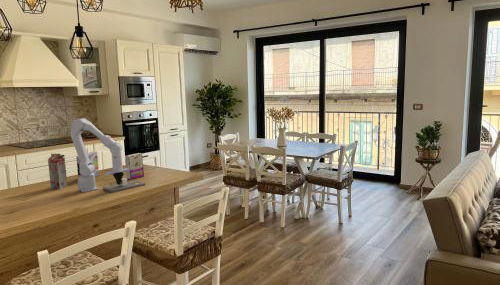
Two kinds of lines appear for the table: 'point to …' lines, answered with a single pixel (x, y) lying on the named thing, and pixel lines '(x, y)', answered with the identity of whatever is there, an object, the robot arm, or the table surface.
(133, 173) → the candy bar box
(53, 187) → the juice carton
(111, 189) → the fader panel
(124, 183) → the fader knob
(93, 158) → the cake pan box
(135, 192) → the table surface
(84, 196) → the table surface
